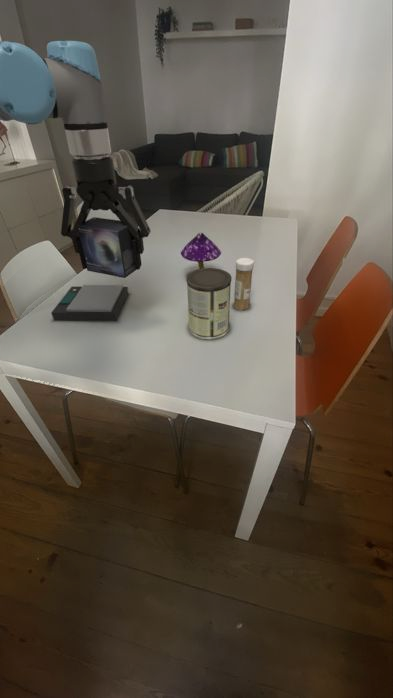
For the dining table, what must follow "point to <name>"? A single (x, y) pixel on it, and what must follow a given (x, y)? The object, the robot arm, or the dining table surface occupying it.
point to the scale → (91, 303)
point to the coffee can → (208, 302)
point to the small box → (107, 247)
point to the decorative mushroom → (200, 250)
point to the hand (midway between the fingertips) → (112, 266)
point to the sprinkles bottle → (243, 283)
